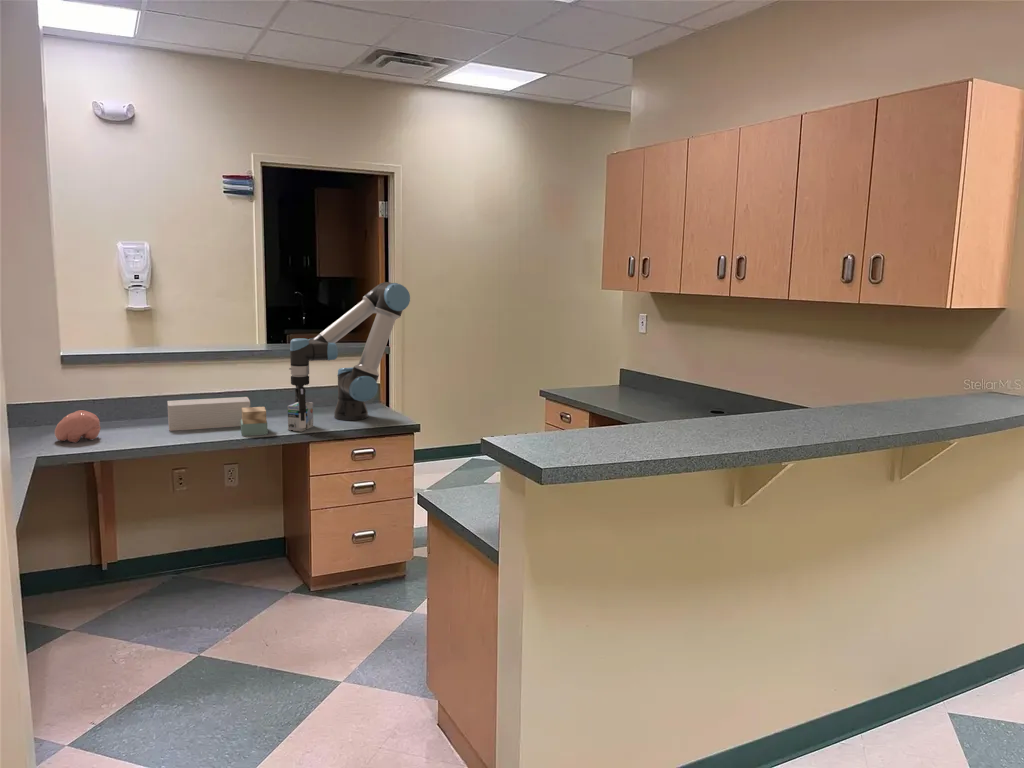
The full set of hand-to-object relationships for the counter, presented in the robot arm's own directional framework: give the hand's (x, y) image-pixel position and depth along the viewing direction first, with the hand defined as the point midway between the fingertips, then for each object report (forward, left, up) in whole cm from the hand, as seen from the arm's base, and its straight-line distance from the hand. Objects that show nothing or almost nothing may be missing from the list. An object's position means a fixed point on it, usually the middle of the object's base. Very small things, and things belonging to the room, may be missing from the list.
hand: (300, 424), depth 314 cm
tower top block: (+19, +2, +3) cm, 19 cm away
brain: (+83, -1, -2) cm, 83 cm away
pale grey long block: (+36, -15, -2) cm, 39 cm away
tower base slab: (+19, +2, -2) cm, 19 cm away
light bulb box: (0, 0, -2) cm, 2 cm away
